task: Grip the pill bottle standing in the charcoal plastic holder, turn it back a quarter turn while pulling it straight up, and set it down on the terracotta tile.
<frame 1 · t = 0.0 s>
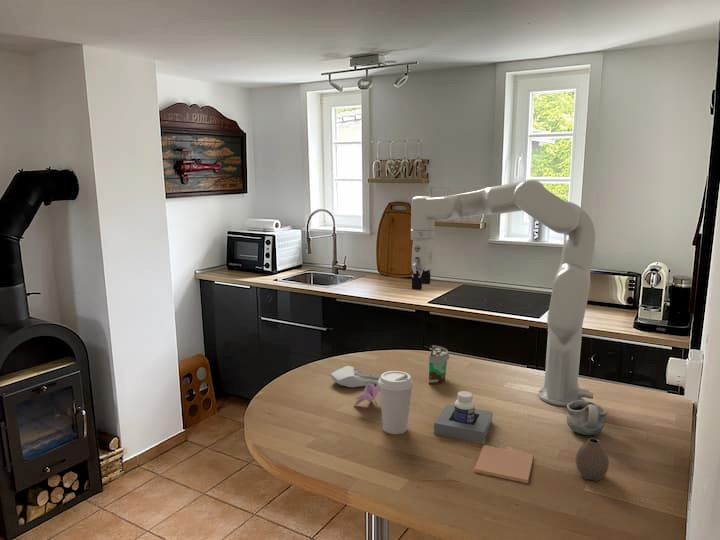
hand: (421, 286, 179), 31 cm above the table, tool pointing down, fingers open, 9 cm apart
vase: (590, 476, 125), on the table
bottle holder: (463, 427, 148), on the table
pill bottle: (463, 428, 148), resting in bottle holder
mug: (587, 435, 145), on the table
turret: (360, 384, 179), on the table
terracotta tile: (504, 464, 130), on the table
lily: (370, 408, 161), on the table
food container: (439, 380, 182), on the table
coffee cup: (394, 429, 147), on the table
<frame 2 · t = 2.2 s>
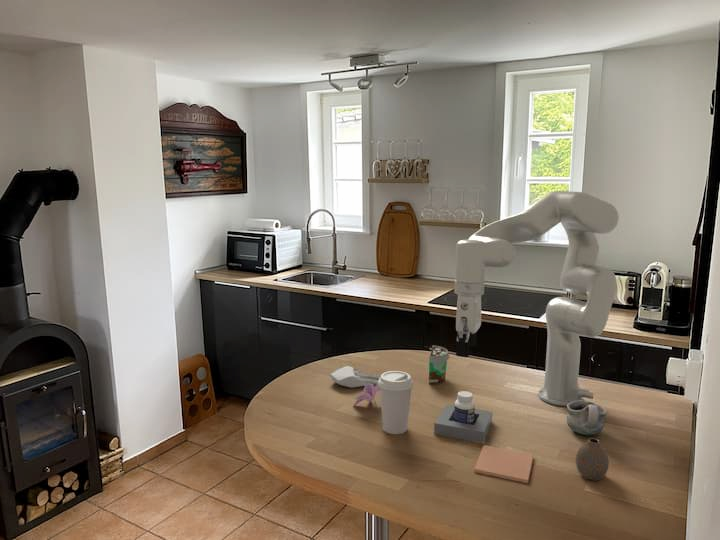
hand: (466, 350, 144), 22 cm above the table, tool pointing down, fingers open, 9 cm apart
nothing on the table moved.
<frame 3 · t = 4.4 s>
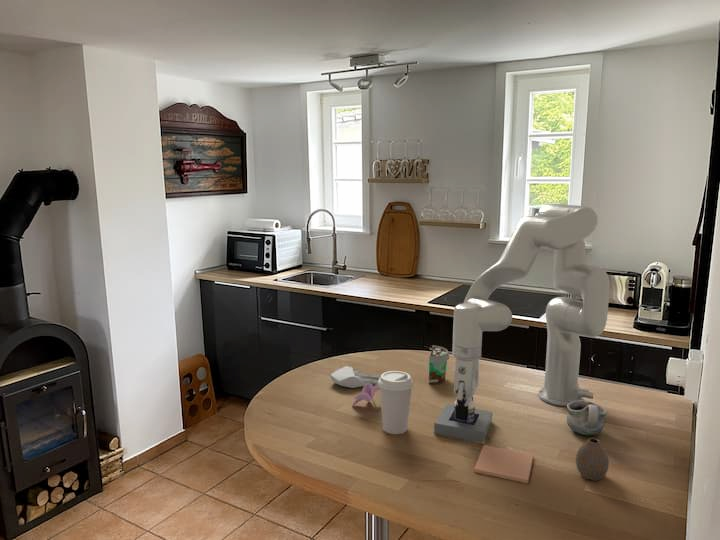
hand: (464, 413, 147), 4 cm above the table, tool pointing down, fingers closed on pill bottle, 5 cm apart
pill bottle: (463, 428, 148), resting in bottle holder, touching gripper
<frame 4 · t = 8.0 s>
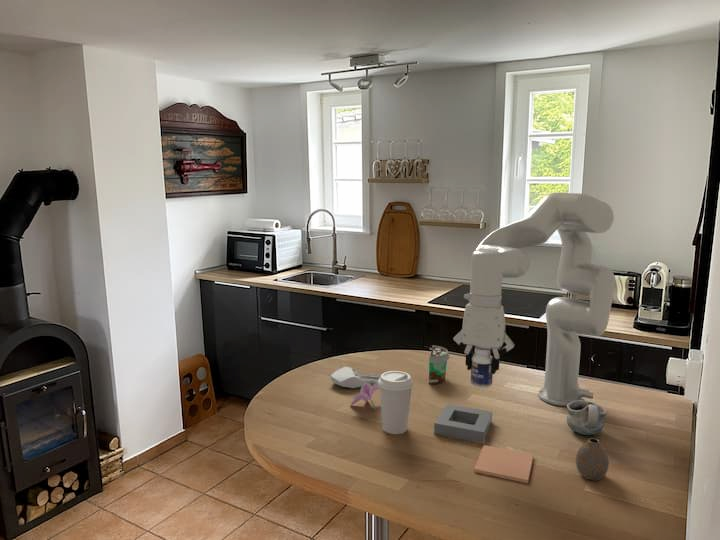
hand: (482, 369, 137), 20 cm above the table, tool pointing down, fingers closed on pill bottle, 5 cm apart
pill bottle: (481, 385, 138), point 15 cm above the table, touching gripper
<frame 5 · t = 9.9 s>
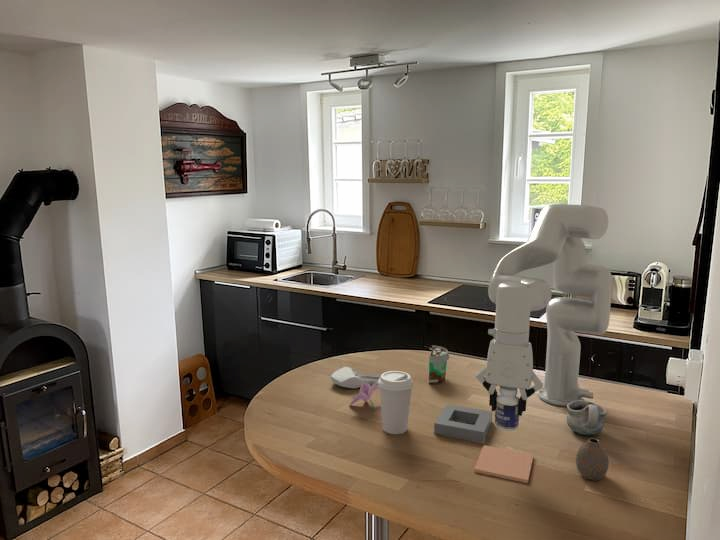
hand: (507, 410, 127), 14 cm above the table, tool pointing down, fingers closed on pill bottle, 5 cm apart
pill bottle: (506, 427, 128), point 10 cm above the table, touching gripper
when the fingers open (7 cm above the table, at t = 11.5 s): pill bottle drops 2 cm, resting on terracotta tile.
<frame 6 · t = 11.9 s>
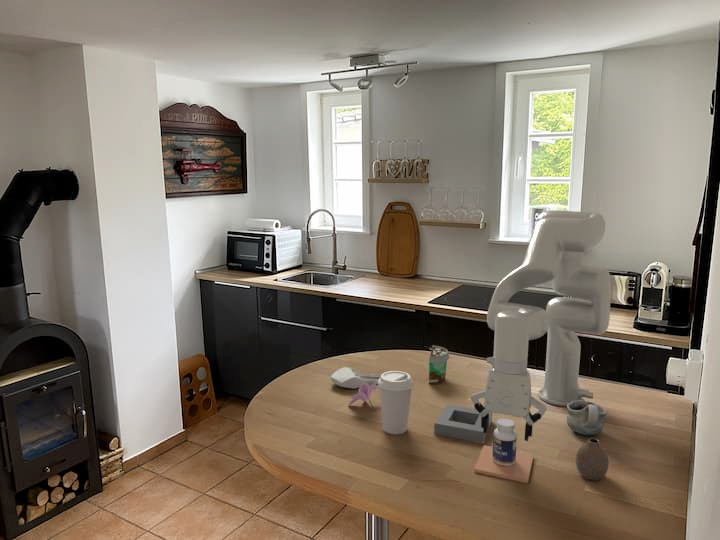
hand: (506, 434, 128), 8 cm above the table, tool pointing down, fingers open, 9 cm apart
pill bottle: (503, 461, 130), point 1 cm above the table, touching terracotta tile
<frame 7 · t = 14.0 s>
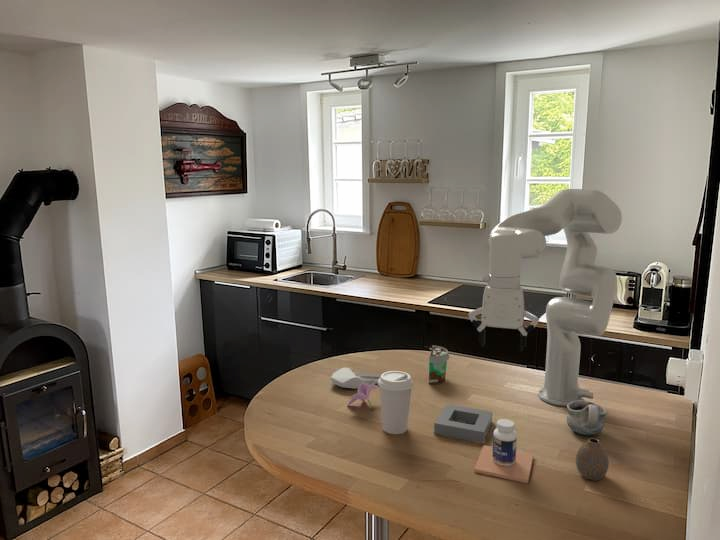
hand: (501, 347, 139), 25 cm above the table, tool pointing down, fingers open, 9 cm apart
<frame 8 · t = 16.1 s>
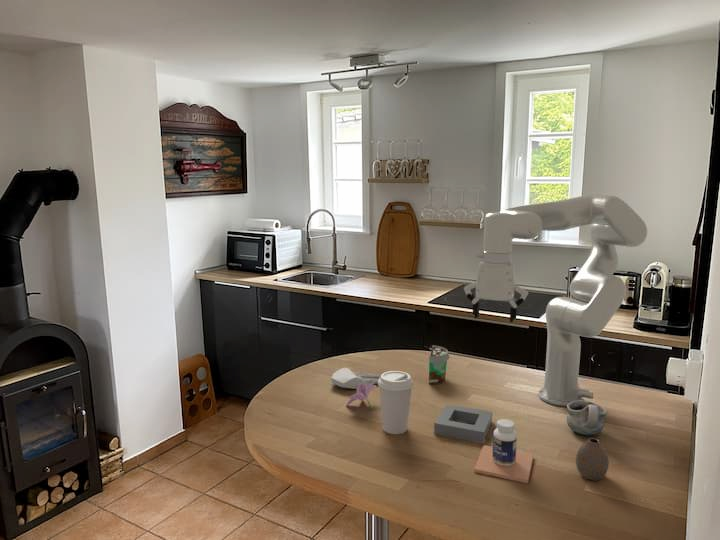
hand: (494, 319, 151), 28 cm above the table, tool pointing down, fingers open, 9 cm apart
at the end: pill bottle inside the target area on the terracotta tile (0.3 cm from its centre), point 0.6 cm above the terracotta tile's base; pill bottle tilted 0°; the gripper is holding nothing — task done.
